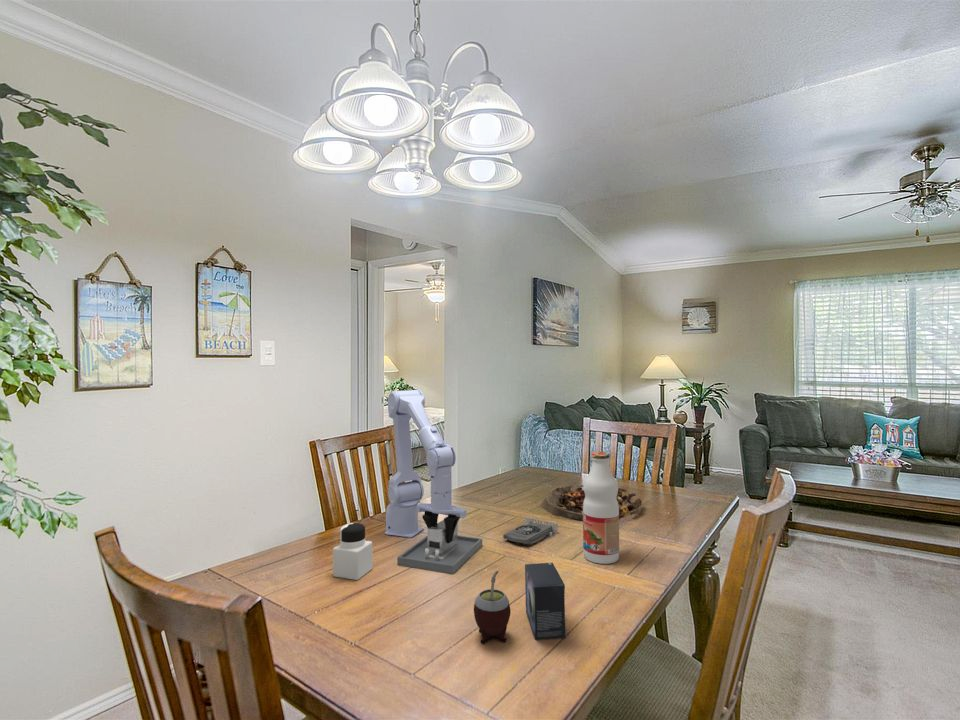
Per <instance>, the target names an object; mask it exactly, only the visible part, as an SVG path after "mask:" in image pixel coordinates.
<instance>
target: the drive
mask: <svg viewBox="0 0 960 720" xmlns="http://www.w3.org/2000/svg"><path fill="white" fill-rule="evenodd" d="M458 524H459V522H458V523H457V525H456V528H455V531H454V535H453V540H452V542H450V543H447V541H446V527H445V523H444V519H443V520H440V521H438V522H437V524H435V525H433V526H431V527H429V528H427V535H428V536H427V535H426V536H427V548H429V551H430V552H435V550H439V553H441V554H442V553H443V552H445V551H446V550H448V549H449V548H451V547H452V546H454V545H455V544H457V543H458V536H459V535H458V534H459V533H458V532H459V531H458V530H459V528H458V526H459V525H458Z"/></svg>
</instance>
